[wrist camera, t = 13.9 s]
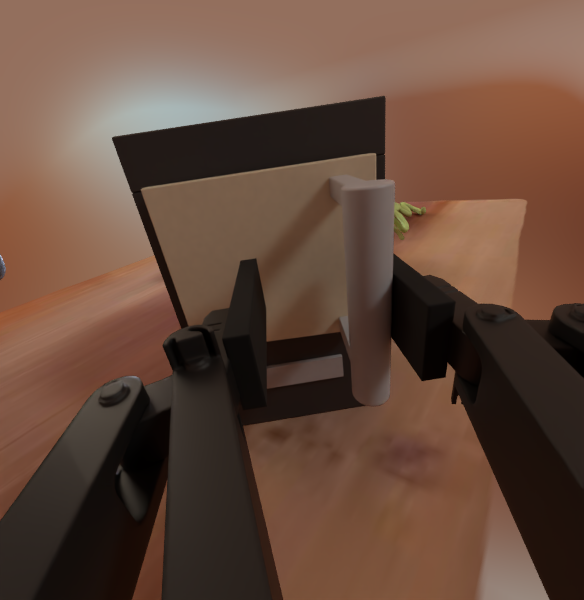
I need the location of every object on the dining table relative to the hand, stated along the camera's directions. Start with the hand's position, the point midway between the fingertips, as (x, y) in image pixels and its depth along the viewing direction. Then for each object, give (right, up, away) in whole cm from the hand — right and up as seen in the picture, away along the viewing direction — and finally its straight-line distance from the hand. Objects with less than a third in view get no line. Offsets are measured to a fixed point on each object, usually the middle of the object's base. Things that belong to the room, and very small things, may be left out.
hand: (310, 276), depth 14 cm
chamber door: (-1, -5, +1) cm, 5 cm away
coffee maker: (-1, -7, +14) cm, 16 cm away
